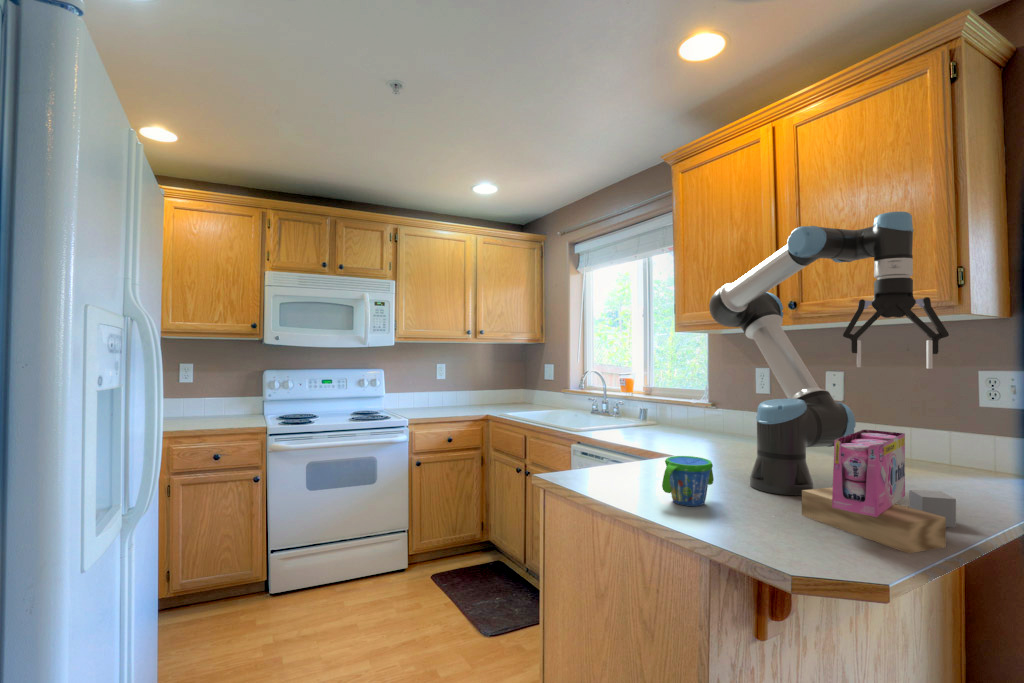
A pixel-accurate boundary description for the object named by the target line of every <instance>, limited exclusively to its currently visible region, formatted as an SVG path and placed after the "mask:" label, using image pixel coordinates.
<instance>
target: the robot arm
mask: <svg viewBox="0 0 1024 683" xmlns="http://www.w3.org/2000/svg"><path fill="white" fill-rule="evenodd" d="M913 227H914V225H913V216H912V214H911V213H910V212H907V211H888V212H884V213H880V214H878V215H875V217H874V219H873V224H872V226H869V227H865V228H861V229H845V228H844V229H843V228H833V227H823V226H816V225H806V226H805V225H804V226H803V225H802V226H798V227H796V228H794V229H793V230H792V231H791V233H790V235H789V236H788V237H787V241H786V242H787V243H786V245H784V246H783V247H781V248H780V249H778V250H777V251H775V252H774V253H773V254H772V255H770V256H769V257H767V258H766V259H765V260H763V261H762V262H760V263H759V264H758V265H756V266H755V267H753V268H752V269H751V270H749V271H748V272H747V273H744V275H742V276H741V277H739V278H738V279H737V280H735V281H734V282H728V283H727V282H726V283H725V284H724V285H722V286H721V287H720V288H718V289H717V290H716V291H715V292H714V294H713V295H712V296H711V297H710V301H709V305H708V308H709V313H710V315H711V317H712V319H713V320H714V321H715V322H716V323H717V324H720V326H724V327H728V328H731V327H732V328H741V330H742V331H743V333H744V335H745V337H747V339H749V340H754V342H755V344H756V346H757V347H758V349H759V350H760V353H761V354H762V356H763V357H764V360H765V361H766V363H767V365H768V366H769V368H770V370H771V372H772V374H773V376H774V377H775V379H776V381H777V382H778V384H779V386H780V387H781V389H782V391H783V393H784V395H785V396H786V398H775V399H773V398H772V399H768V400H764V401H762V402H760V403H759V404H758V406H757V414H756V459H755V461H754V464H753V467H752V470H751V472H750V475H749V486H750V487H751V488H753V489H754V490H758V491H762V492H766V493H771V494H774V495H775V494H776V495H784V496H802V490H810V489H815V488H814V486H815V485H814V481H813V478H812V475H811V471H810V470H809V466H808V463H807V448H817V447H818V448H820V447H822V448H823V447H824V448H825V447H827V448H830V447H831V448H832V447H834V441H835V440H836V439H838V438H841V437H844V436H847V435H850V434H853V433H855V428H856V425H857V424H856V418H855V415H854V412H853V410H852V408H850V407H849V406H848V405H847V404H844V403H841V402H839V401H837V402H836V401H835V399H834V397H833V396H832V395H831V393H830V392H829V390H827V389H823V388H820V387H819V385H818V384H817V382H816V381H815V379H814V377H813V376H812V374H811V372H810V371H809V370H808V369H809V368H807V366H806V364H805V363H804V361H803V359H802V358H801V356H800V354H799V353H798V352H797V350H796V349H795V347H794V345H793V343H792V342H791V340H790V339H789V337H788V335H787V334H786V332H785V331H784V329H783V327H782V325H783V322H784V320H783V318H784V312H783V310H784V306H783V303H782V301H781V299H780V298H779V297H778V296H777V295H775V294H774V293H772V292H769V291H770V290H772V289H773V288H775V287H776V286H778V285H780V284H781V283H783V282H785V281H786V280H788V279H789V278H791V277H792V276H793V275H795V274H797V273H798V272H800V271H801V270H803V269H804V268H806V267H807V266H809V265H811V264H812V263H814V262H816V261H817V260H819V259H830V260H832V261H833V262H834V263H852V262H854V261H859V260H860V261H861V260H865V259H869V258H873V277H874V278H875V279H876V280H875V281H873V299H872V300H866V299H863V298H862V299H860V300H859V301H858V305H857V309H856V311H855V313H854V315H853V317H852V318H851V319H850V322H849V323H848V324H847V327H846V328H845V330H844V331H843V334H842V337H844V338H845V339H849V340H850V344H851V350H850V351H851V353H852V354H856V368H862V340H861V339H860V340H859V338H860V337H861V335H863V334H864V333H865V332H866V331H867V330H868V329H869V328H870V327H871V326H872V325H873V323H876V321H877V320H878V319H879V318H880V317H882V318H884V319H891V318H896V319H897V318H904V317H906V319H909V320H910V321H911V322H912V323H913V324H914V325H915V326H916V327H917V328H918V329H919V330H920V331H922V332H923V333H924V334H925V335H926V336H927V337H928V338H929V339H928V340H926V342H925V343H926V348H925V349H926V352H925V353H926V356H925V357H926V360H925V361H926V369H928V370H929V369H930V370H933V367H934V366H933V355H937V354H938V353H939V341H940V340H941V339H944V338H948V337H949V335H950V334H949V331H948V330H947V328H946V327H945V326H944V324H943V322H942V321H941V319H940V318H939V316H938V315H937V313H936V311H935V310H934V309H933V307H932V301H931V298H930V297H928V296H925V297H923V298H918V299H917V298H916V299H915V298H914V279H913V278H911V277H912V276H913V275H914V274H913V273H914V268H913V267H914V264H913V263H914V262H913V259H914V257H913V243H914V242H913V240H914V232H915V230H914V228H913ZM915 305H918V307H920V308H921V309H922V308H923V310H924V312H925V314H926V315H927V317H928V319H929V320H930V322H931V323H932V325H933V327H934V328H935V330H936V332H938V333H936V332H935V331H933V330H932V329H931V328H930V326H928V325H927V324H926V322H924V321H923V320H922V319H921V318H920V317H919V316H917V315H916V313H915V312H913V311H912V309H913V308H914V306H915ZM869 306H872V307H873V309H874V310H875V311H876V312H875V313H873V314H872V316H871V317H870V318H868V320H867V321H866V322H865V323H864V324H863V325H862V326H861V327H859V328H858V329H857V330H856V332H855V333H852V331H853V329H854V327H855V326H856V324H857V322H858V321H859V319H860V317H861V316H862V314H863V312H864V310H867V309H868V308H869Z"/></svg>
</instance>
